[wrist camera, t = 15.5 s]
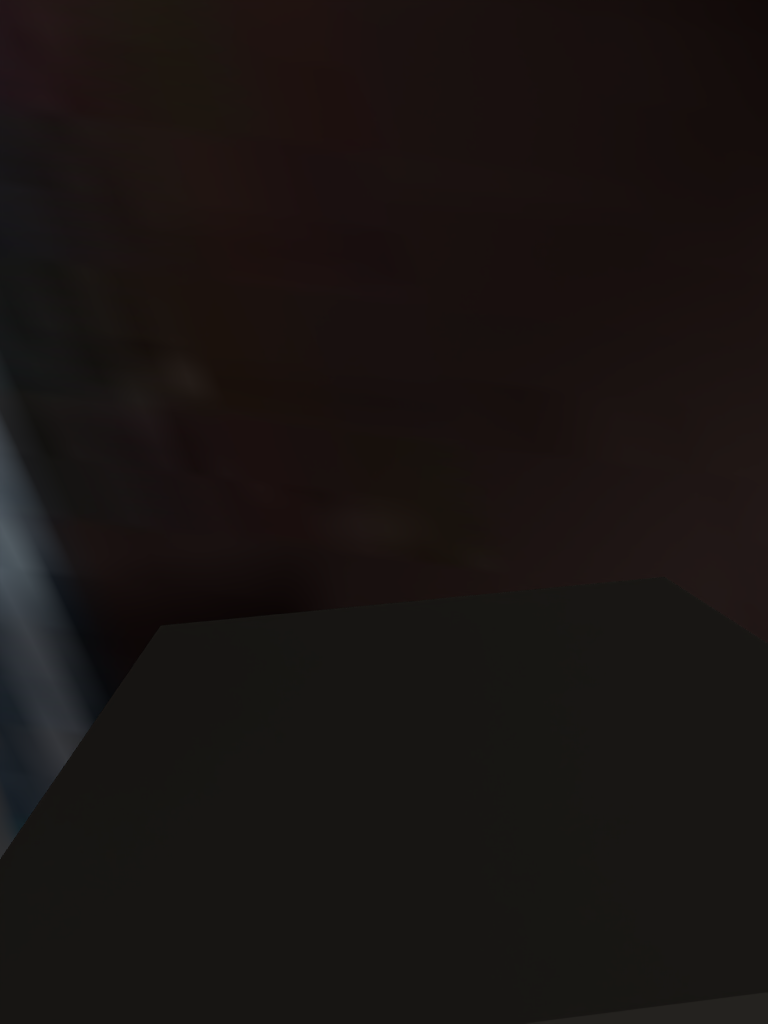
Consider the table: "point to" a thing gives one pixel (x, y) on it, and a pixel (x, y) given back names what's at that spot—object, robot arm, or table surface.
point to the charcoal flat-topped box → (410, 822)
